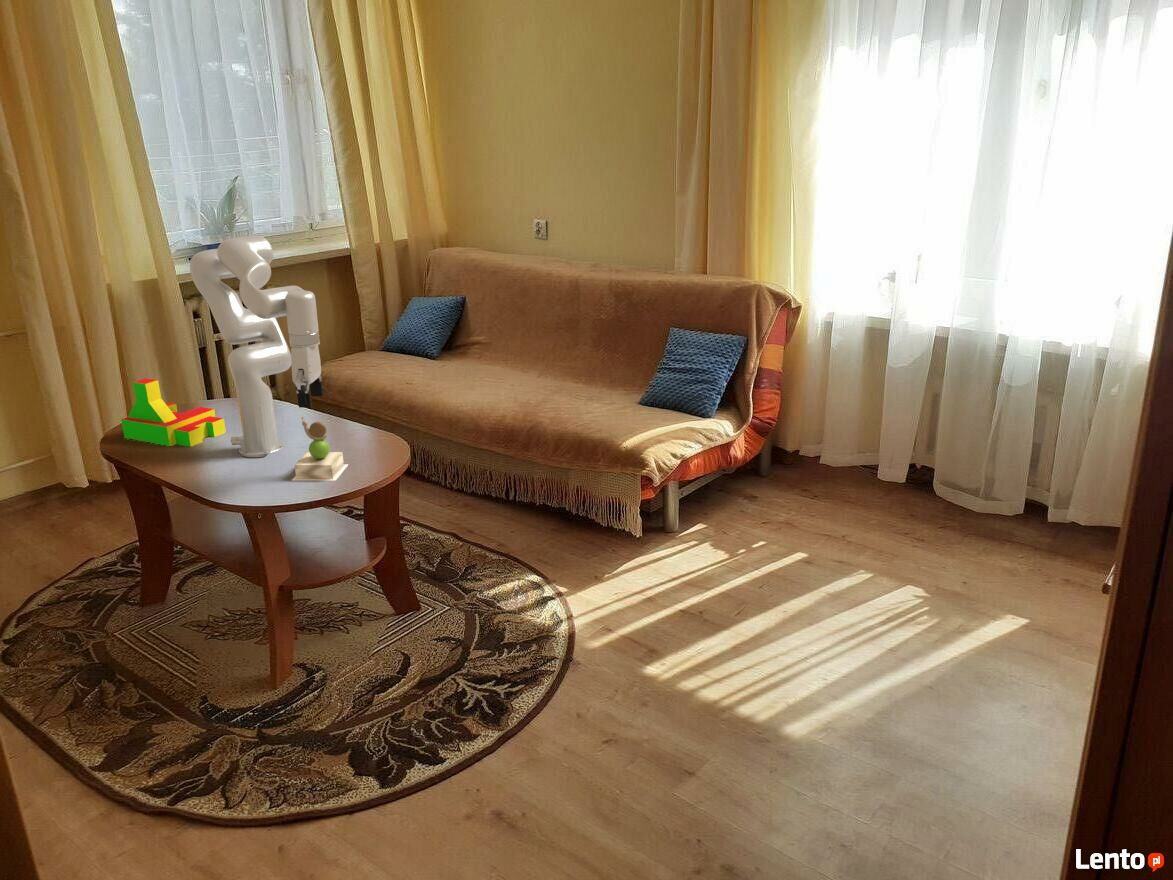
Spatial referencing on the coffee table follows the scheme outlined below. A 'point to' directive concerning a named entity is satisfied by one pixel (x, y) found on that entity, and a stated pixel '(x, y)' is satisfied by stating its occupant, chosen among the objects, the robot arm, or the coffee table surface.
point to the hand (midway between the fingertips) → (311, 401)
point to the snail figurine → (317, 439)
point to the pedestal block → (319, 466)
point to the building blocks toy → (167, 419)
